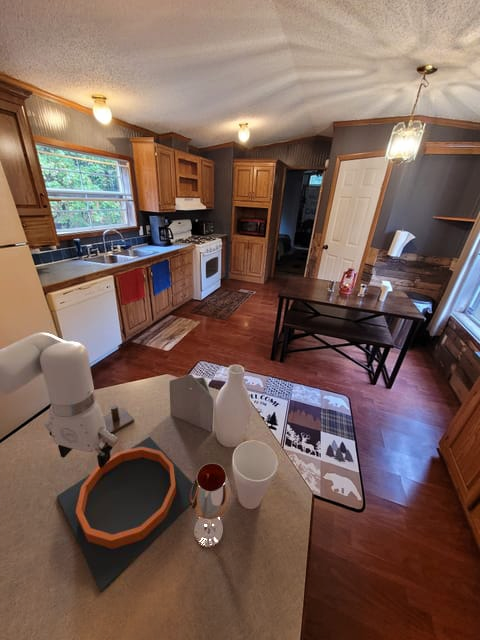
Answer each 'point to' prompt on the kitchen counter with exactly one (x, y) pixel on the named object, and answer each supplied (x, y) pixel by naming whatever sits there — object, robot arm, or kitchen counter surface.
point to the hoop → (146, 527)
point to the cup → (253, 471)
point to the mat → (125, 510)
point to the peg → (117, 419)
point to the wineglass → (210, 502)
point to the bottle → (232, 409)
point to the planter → (192, 401)
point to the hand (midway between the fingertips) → (86, 457)
